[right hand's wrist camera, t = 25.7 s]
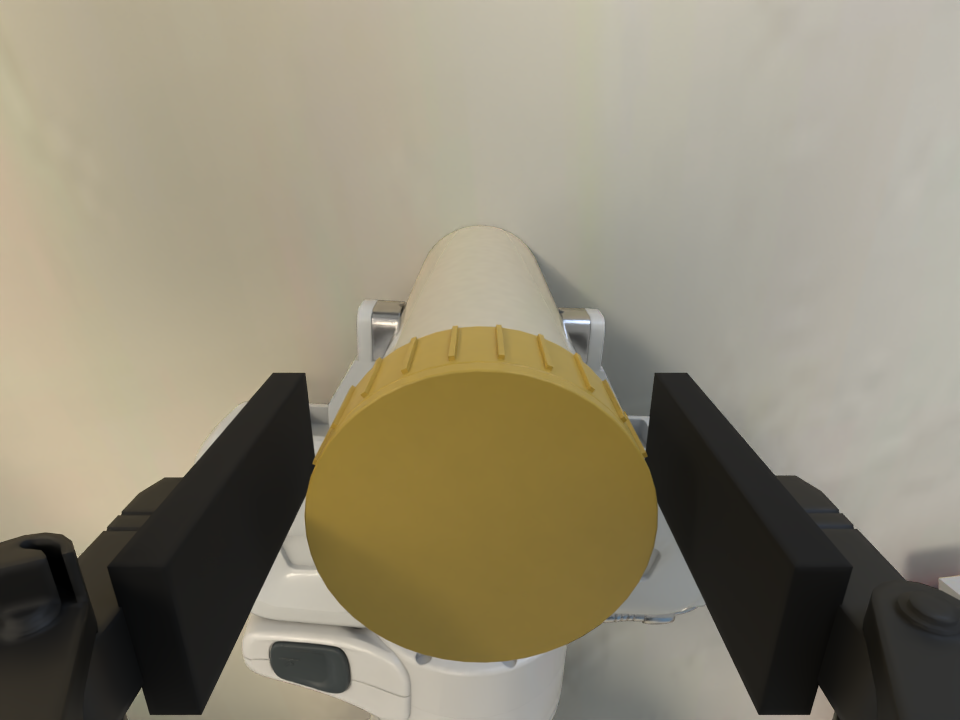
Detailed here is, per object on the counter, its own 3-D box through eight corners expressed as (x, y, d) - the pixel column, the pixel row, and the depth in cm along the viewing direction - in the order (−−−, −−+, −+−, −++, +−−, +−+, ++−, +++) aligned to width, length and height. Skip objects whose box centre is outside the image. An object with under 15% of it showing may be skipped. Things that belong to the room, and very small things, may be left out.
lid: (356, 289, 11) (327, 325, 9) (675, 362, 12) (717, 413, 9) (312, 554, 13) (281, 633, 11) (579, 604, 14) (598, 690, 12)
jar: (475, 198, 25) (468, 301, 10) (567, 282, 26) (687, 490, 11) (394, 291, 27) (278, 508, 11) (485, 367, 28) (490, 652, 13)
